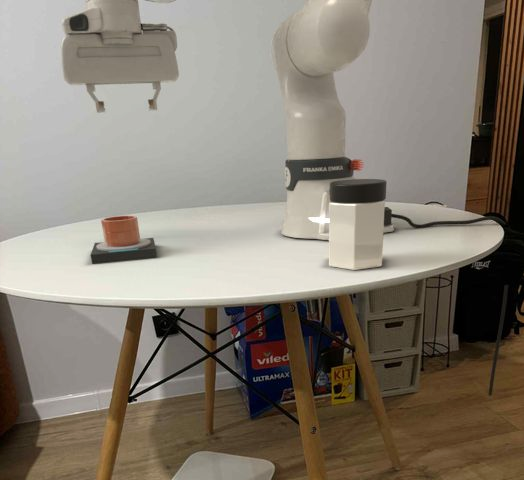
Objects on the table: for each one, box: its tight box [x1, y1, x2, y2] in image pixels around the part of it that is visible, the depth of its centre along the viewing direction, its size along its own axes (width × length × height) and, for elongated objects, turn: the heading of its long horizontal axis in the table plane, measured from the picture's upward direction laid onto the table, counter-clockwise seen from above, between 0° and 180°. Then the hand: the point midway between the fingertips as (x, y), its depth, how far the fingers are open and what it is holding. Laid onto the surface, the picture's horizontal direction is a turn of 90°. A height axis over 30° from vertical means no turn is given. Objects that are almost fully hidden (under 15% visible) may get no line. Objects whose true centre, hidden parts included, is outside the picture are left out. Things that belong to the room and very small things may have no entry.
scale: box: [90, 237, 158, 265], centre depth 91 cm, size 11×11×2 cm
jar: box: [328, 178, 387, 271], centre depth 75 cm, size 9×8×12 cm
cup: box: [100, 215, 141, 247], centre depth 90 cm, size 6×6×4 cm
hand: (127, 111), depth 93 cm, fingers open, 8 cm apart
